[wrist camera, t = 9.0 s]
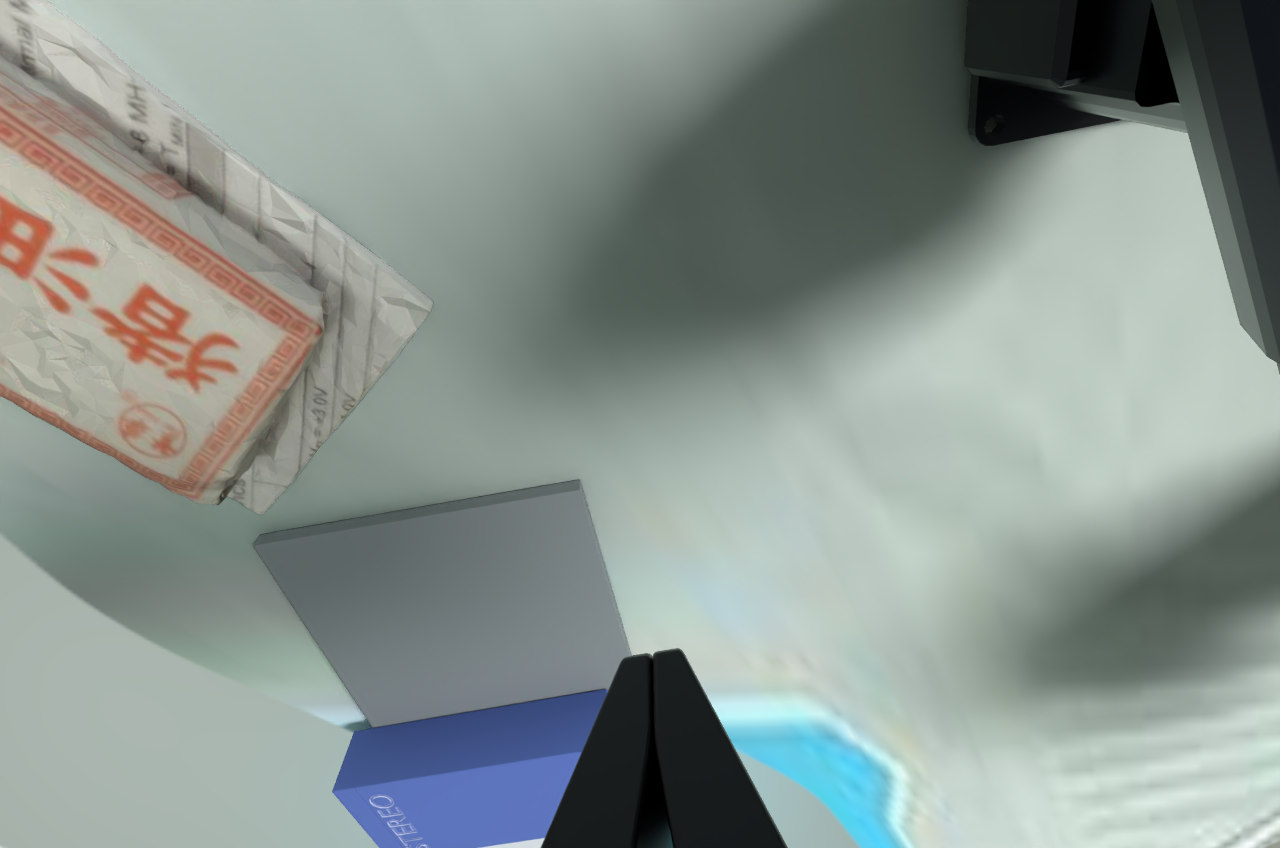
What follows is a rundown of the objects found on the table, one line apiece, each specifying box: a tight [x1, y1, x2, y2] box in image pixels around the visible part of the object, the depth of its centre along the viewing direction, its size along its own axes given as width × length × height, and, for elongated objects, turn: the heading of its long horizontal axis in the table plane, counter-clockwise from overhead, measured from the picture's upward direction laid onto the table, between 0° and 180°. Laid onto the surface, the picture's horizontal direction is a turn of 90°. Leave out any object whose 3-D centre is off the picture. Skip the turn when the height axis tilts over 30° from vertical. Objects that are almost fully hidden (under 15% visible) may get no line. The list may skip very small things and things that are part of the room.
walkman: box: [332, 689, 608, 848], centre depth 30 cm, size 8×3×12 cm
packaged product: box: [0, 0, 433, 514], centre depth 17 cm, size 18×5×10 cm
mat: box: [253, 480, 632, 728], centre depth 28 cm, size 12×16×1 cm
